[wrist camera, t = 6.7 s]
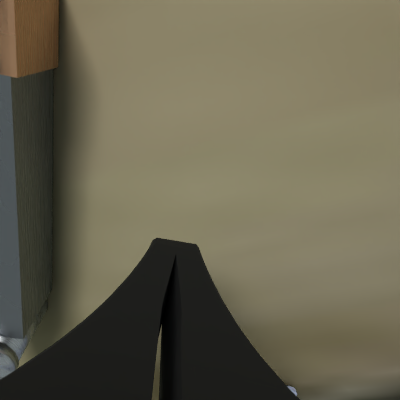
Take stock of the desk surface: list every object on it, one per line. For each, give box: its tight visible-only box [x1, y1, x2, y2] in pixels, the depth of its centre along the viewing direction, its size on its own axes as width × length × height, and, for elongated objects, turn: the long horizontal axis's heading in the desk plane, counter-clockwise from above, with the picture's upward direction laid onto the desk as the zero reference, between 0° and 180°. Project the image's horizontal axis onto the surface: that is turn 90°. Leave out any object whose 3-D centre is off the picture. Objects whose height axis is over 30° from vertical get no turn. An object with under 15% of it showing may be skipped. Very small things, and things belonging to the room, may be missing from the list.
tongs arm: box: [0, 0, 59, 339], centre depth 14 cm, size 15×2×4 cm, turn 169°
